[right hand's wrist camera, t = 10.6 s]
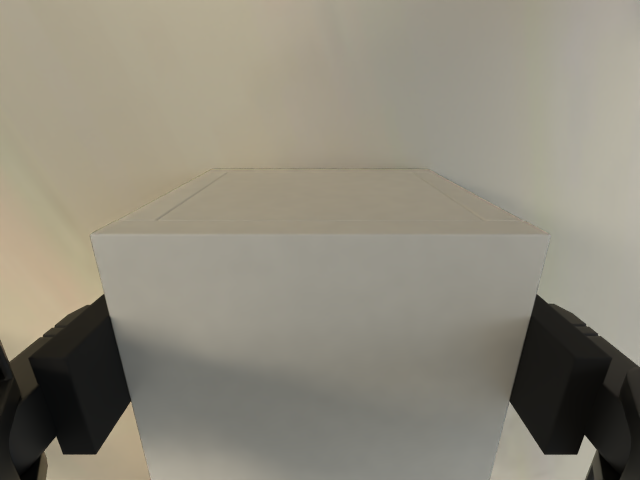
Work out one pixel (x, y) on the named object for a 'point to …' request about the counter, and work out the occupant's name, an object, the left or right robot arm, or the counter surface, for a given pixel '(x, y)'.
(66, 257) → the counter surface
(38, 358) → the right robot arm
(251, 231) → the cabinet
